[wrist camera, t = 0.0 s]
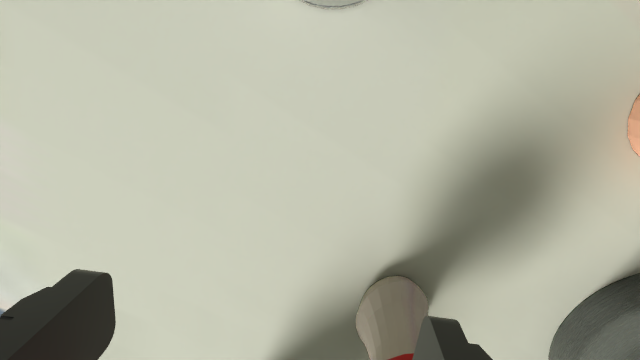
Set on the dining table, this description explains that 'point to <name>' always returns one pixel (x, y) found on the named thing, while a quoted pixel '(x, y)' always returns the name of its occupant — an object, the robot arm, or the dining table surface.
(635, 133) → the pepper shaker
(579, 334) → the cooker pot
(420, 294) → the decorative mushroom
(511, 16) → the dining table surface
